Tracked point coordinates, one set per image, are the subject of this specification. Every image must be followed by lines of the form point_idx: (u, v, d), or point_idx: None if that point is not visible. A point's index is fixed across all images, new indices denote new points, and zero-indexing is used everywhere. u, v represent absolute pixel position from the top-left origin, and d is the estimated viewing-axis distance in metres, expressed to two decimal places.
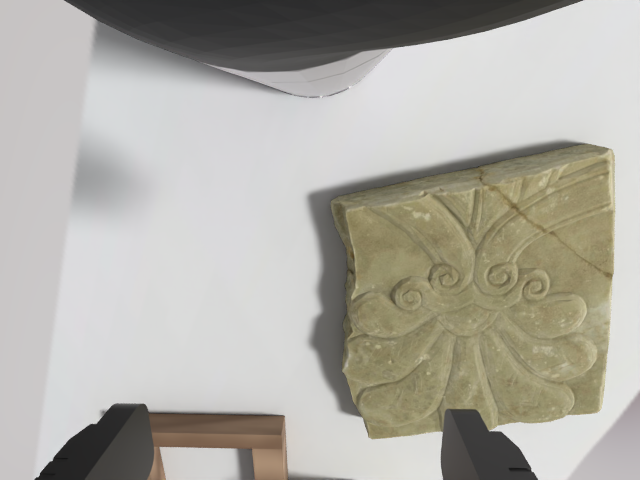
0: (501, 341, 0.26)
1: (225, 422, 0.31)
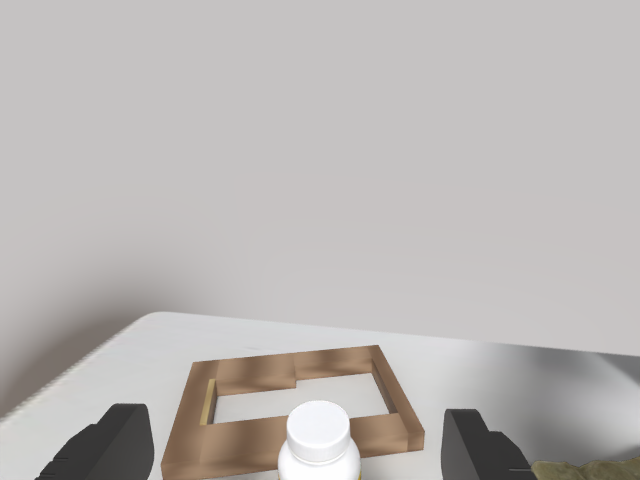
0: None
1: None
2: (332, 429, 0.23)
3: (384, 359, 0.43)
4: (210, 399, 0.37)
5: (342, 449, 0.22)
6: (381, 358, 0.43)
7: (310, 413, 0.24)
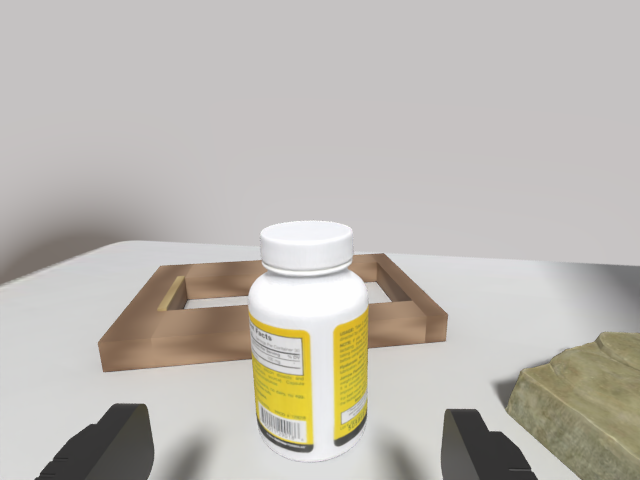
0: None
1: None
2: (327, 233, 0.15)
3: (392, 263, 0.36)
4: (175, 290, 0.29)
5: (341, 257, 0.15)
6: (388, 262, 0.36)
7: (295, 227, 0.17)
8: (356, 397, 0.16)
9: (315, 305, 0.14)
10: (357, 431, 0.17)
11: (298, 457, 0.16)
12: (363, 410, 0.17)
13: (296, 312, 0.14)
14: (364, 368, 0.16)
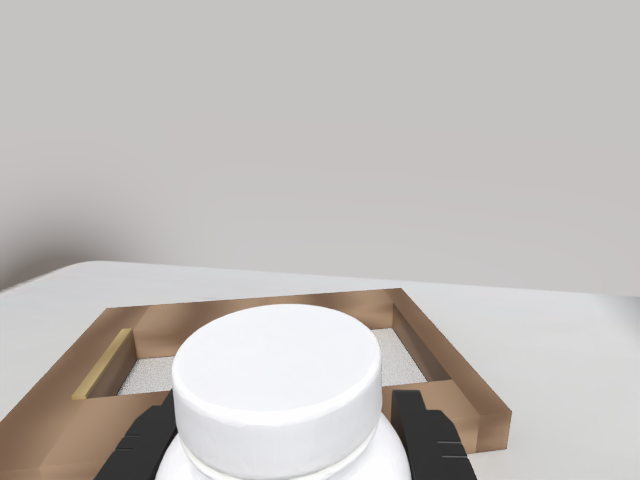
0: None
1: None
2: (323, 367, 0.07)
3: (413, 304, 0.27)
4: (110, 357, 0.20)
5: (358, 432, 0.06)
6: (408, 303, 0.27)
7: (258, 329, 0.08)
8: None
9: None
10: None
11: None
12: None
13: None
14: None
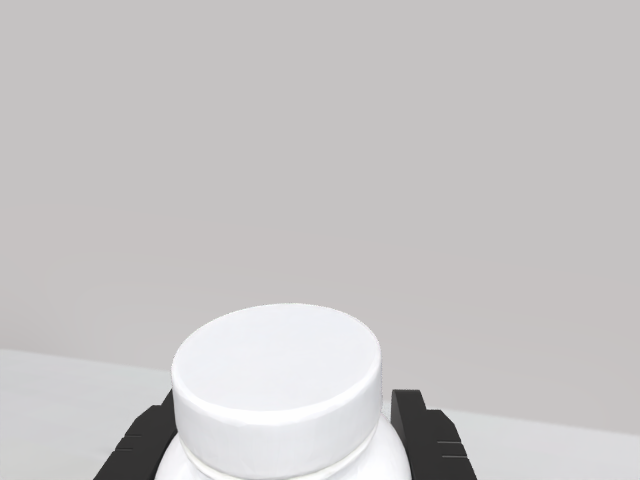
0: None
1: None
2: (323, 367, 0.07)
3: None
4: None
5: (358, 433, 0.06)
6: None
7: (258, 328, 0.08)
8: None
9: None
10: None
11: None
12: None
13: None
14: None
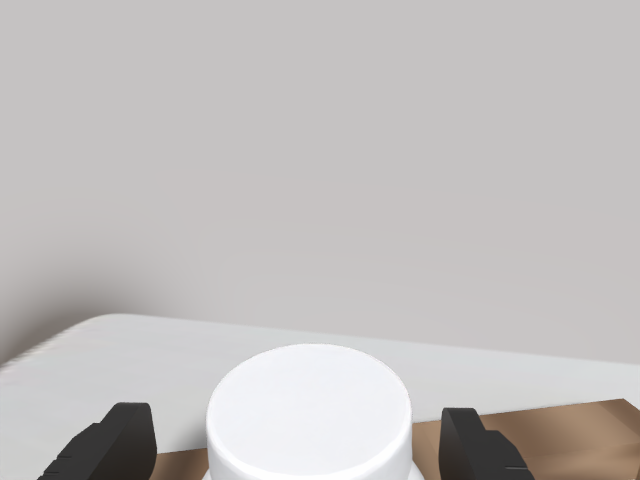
0: None
1: None
2: (357, 421, 0.07)
3: None
4: None
5: None
6: None
7: (286, 374, 0.08)
8: None
9: None
10: None
11: None
12: None
13: None
14: None
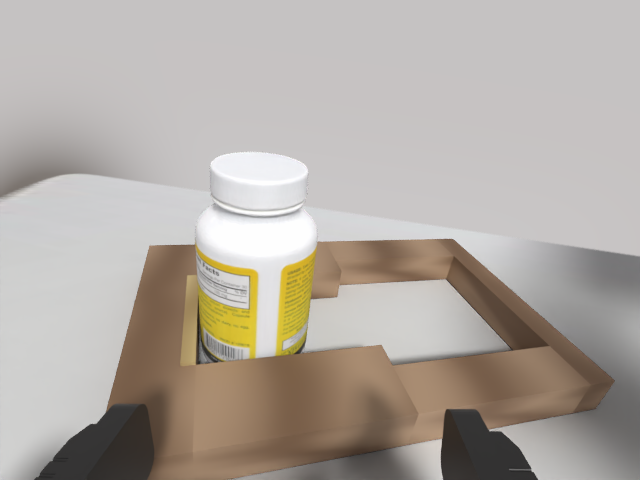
0: None
1: None
2: (281, 172, 0.15)
3: (474, 259, 0.27)
4: (195, 312, 0.18)
5: (295, 198, 0.15)
6: (468, 257, 0.27)
7: (248, 159, 0.16)
8: (298, 328, 0.17)
9: (265, 246, 0.14)
10: None
11: None
12: (303, 337, 0.18)
13: (245, 251, 0.14)
14: (307, 302, 0.17)
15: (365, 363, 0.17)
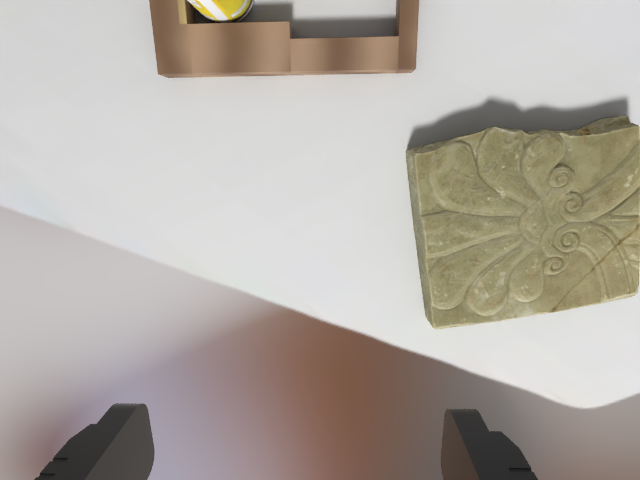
0: (511, 249, 0.35)
1: None
2: None
3: None
4: None
5: None
6: None
7: None
8: (238, 7, 0.30)
9: None
10: (244, 13, 0.32)
11: (215, 22, 0.32)
12: (246, 5, 0.31)
13: None
14: None
15: (275, 35, 0.31)
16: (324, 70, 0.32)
